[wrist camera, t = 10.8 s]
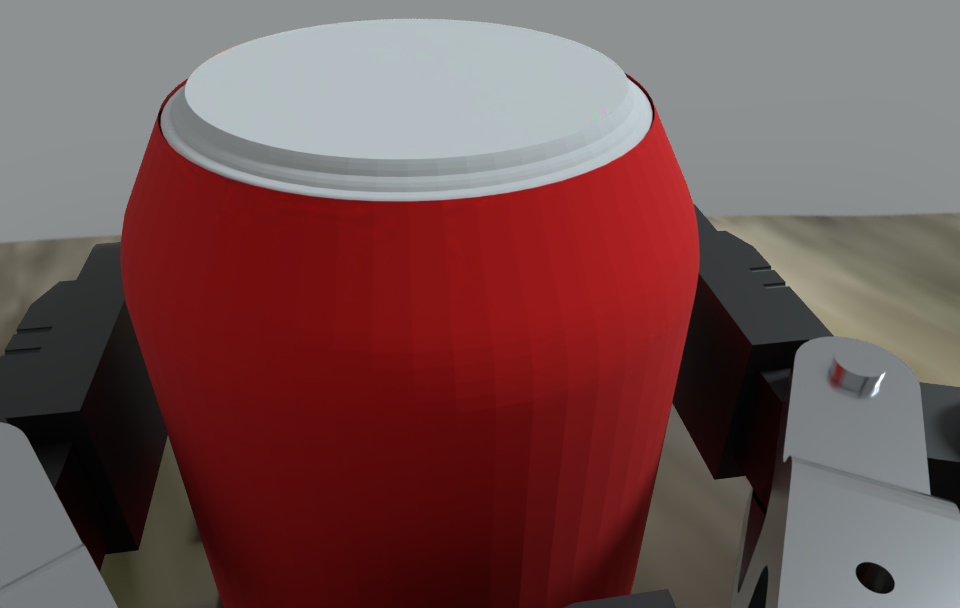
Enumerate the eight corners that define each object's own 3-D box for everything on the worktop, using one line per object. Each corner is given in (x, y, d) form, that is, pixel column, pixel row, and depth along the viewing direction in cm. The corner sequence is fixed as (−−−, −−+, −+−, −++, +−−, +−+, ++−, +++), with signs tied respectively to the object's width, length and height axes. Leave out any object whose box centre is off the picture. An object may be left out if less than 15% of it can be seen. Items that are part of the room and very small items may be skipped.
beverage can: (349, 534, 17) (271, -13, 10) (615, 596, 16) (728, 21, 9) (205, 827, 12) (-118, 159, 5) (574, 948, 11) (748, 279, 4)
